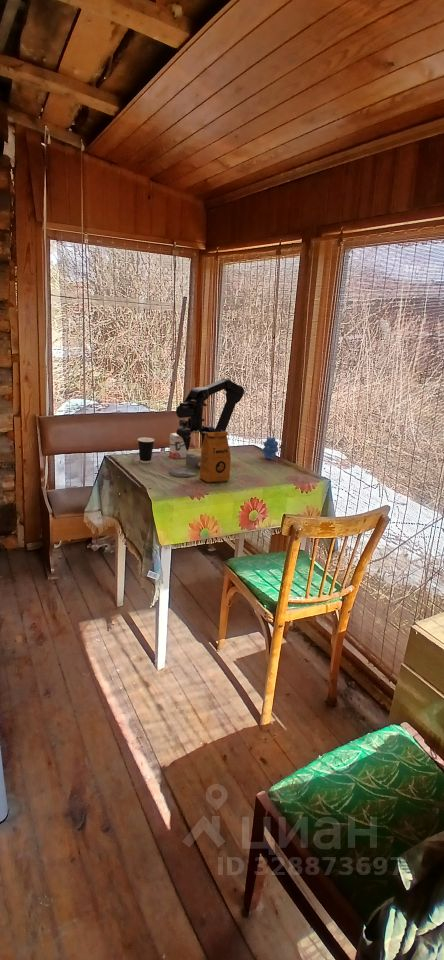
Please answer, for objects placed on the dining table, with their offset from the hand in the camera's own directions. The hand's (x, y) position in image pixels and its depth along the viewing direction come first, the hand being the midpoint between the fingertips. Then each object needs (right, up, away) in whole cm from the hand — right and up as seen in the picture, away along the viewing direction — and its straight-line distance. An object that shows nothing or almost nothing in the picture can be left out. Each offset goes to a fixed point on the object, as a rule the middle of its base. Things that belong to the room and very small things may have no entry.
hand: (194, 448), depth 261 cm
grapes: (+38, -4, +25) cm, 46 cm away
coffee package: (+10, -15, -17) cm, 24 cm away
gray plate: (-5, -12, -10) cm, 16 cm away
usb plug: (0, -9, +2) cm, 9 cm away
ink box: (-9, -3, +17) cm, 20 cm away
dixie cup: (-24, -6, +4) cm, 25 cm away
